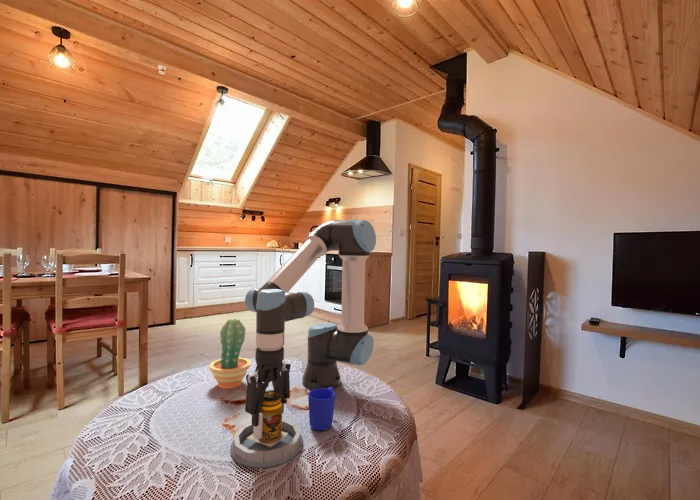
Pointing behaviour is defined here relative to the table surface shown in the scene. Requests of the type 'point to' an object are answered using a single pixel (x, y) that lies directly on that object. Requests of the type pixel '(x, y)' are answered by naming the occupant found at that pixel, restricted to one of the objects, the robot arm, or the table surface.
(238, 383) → the potted cactus
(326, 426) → the mug
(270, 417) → the condiment
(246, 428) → the bowl
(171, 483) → the table surface
